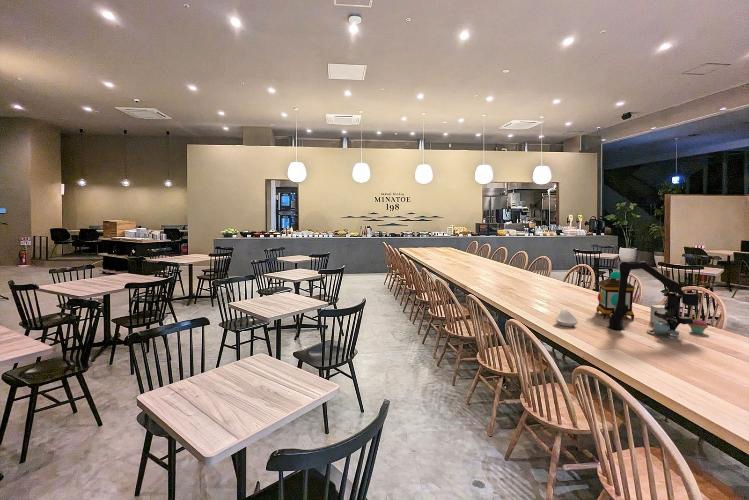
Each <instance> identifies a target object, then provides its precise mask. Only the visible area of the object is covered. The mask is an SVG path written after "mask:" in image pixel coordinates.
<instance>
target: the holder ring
mask: <svg viewBox="0 0 749 500" xmlns="http://www.w3.org/2000/svg"><path fill="white" fill-rule="evenodd" d="M652 330H653V329H647V330H646V333H647V334H649V335H650V336H651V335H652V336H655V337H660V336H669V337H671V334H669V333H667V334H665V335H661V334H656V333H654V332H653V331H652Z"/></svg>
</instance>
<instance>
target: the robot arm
mask: <svg viewBox="0 0 749 500" xmlns="http://www.w3.org/2000/svg"><path fill="white" fill-rule="evenodd" d="M633 270H634V271H635V270H644V272H646V273H648V274H649V275H651V276H652V277H653V278H655V279H656V280H658V282H660V283H661V284H662V285H664V287H665V288H667V290H668V291H670V292H668V291H665V292H664V293H662V295H663V296H664V297H666V305H664V306H665V307H664V309H662V310H658V311H655V312H654V315H655V316H658V318H662V319H663V320H665V321H666V322H667V323H668V324H669V325H670V327H669V329H671V330H675V331H676V329H677V328H678V327H679V326H680V325H688V324H693V320H694V319H693V318H691V317H688V316H683V314H682V313H681V310H682V309H683V307H682V306H681V304H683V306H690V307H699V302H700V301H699V294H698V293H696V292H693V293H692V292H691V293H688V292H685V291H684V290H683V289H682V288H683V287H682V285H681V284H680V283H679V282H678V281H676V280H675V279H672V278H670V277H668V276H665V275H664V274H662V273H661V272H659V271H658V270H657V269H655V268H654V267H653V266H651V265H650V264H648V262H646V261H643V260H642V261H628V260H622V261H620V262H618V271H619V273H620V281H619V291H618V300H617V302H616V305H615V308H614V310H613V311H611V312H610V315H609V316H610V317H608V318H609V320H608V321H609V322H608V326H606V328H608V329H611V330H613V331H621V330H625V328H624V326H623V325H624V320H623V318H624V317H626V313H628V307H629V306H628V304H626V303H625V299H626V289H627V282H628V279H629V276H630V274H631V271H633Z"/></svg>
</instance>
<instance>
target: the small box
mask: <svg viewBox="0 0 749 500" xmlns="http://www.w3.org/2000/svg"><path fill="white" fill-rule="evenodd" d="M665 306H666V305H664V304H662V305H658V304H656V305H655V304H654V305H650V315H649V316H650V318H649V322H650V323H651V324H653V325H654V324H655V321H662V322H665V323H667V322H666V321H665V320H663V319H662V318H658V316H655V315H654V312H655V311H658V310H662V309H664V307H665ZM667 324H668V323H667Z"/></svg>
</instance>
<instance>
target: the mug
mask: <svg viewBox="0 0 749 500" xmlns="http://www.w3.org/2000/svg"><path fill="white" fill-rule="evenodd" d="M669 327H670V325H669V324H667V323H665V322H662V321H655V324H654V323H653V327H652V329H651V330H652V331H653V332H652V333H654V334H661V335H665V334H667V333H669V334H670V335H672V336H673V335H674V336H677V337H678V336H679V335H680V331H679V330H676V329H675V330H671V329H670V328H669Z"/></svg>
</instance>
